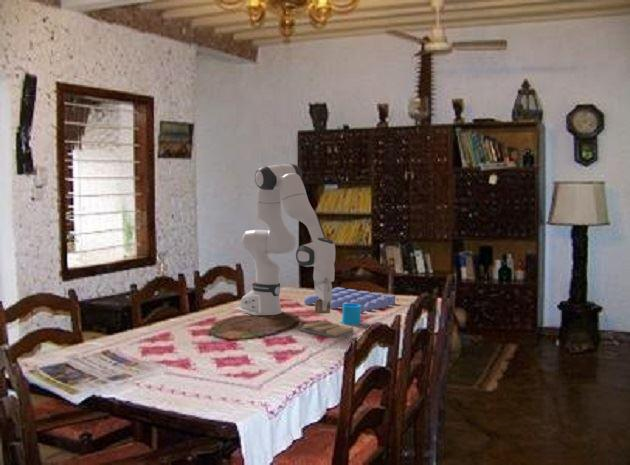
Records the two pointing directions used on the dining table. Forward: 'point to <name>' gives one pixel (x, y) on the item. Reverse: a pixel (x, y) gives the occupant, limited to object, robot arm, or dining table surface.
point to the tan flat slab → (320, 326)
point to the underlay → (331, 331)
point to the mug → (351, 314)
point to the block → (319, 307)
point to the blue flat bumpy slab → (355, 299)
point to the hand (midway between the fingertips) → (322, 308)
